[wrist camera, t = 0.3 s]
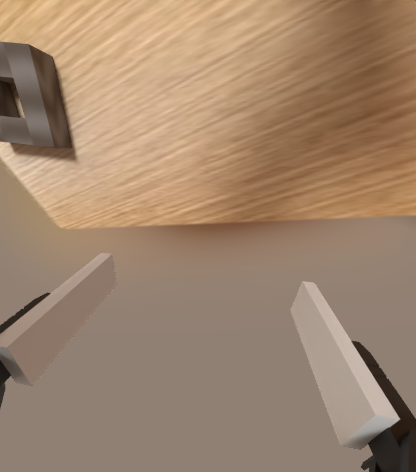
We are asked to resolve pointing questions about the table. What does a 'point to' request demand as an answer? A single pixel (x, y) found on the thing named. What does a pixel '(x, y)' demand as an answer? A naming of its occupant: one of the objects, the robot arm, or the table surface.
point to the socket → (31, 98)
